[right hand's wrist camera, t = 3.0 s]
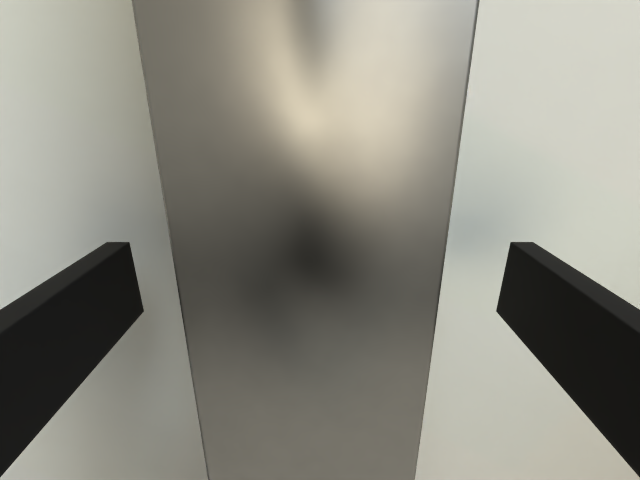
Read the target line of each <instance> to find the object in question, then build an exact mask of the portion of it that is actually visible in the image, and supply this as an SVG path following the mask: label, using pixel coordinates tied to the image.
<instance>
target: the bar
mask: <svg viewBox="0 0 640 480" xmlns="http://www.w3.org/2000/svg"><path fill="white" fill-rule="evenodd" d="M132 5H133V11H134V17H135V23H136V30H137V36H138V42H139V49H140V55H141V61H142V67H143V74H144V80H145V86H146V92H147V99H148V105H149V111H150V117H151V124H152V130H153V136H154V142H155V149H156V155H157V161H158V167H159V174H160V180H161V186H162V192H163V199H164V205H165V211H166V218H167V224H168V230H169V236H170V243H171V249H172V255H173V261H174V268H175V274H176V280H177V286H178V293H179V299H180V305H181V311H182V318H183V324H184V330H185V336H186V343H187V349H188V355H189V362H190V368H191V374H192V380H193V387H194V393H195V399H196V405H197V412H198V418H199V424H200V430H201V437H202V443H203V449H204V455H205V462H206V468H207V474H208V480H415V473H416V466H417V458H418V451H419V444H420V436H421V429H422V421H423V414H424V407H425V399H426V392H427V384H428V377H429V370H430V362H431V355H432V347H433V340H434V333H435V325H436V318H437V310H438V303H439V296H440V288H441V281H442V274H443V266H444V259H445V251H446V244H447V237H448V229H449V222H450V214H451V207H452V200H453V192H454V185H455V177H456V170H457V163H458V155H459V148H460V140H461V133H462V126H463V118H464V111H465V103H466V96H467V89H468V81H469V74H470V66H471V59H472V52H473V44H474V37H475V29H476V22H477V15H478V7H479V0H132Z"/></svg>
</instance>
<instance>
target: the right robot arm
mask: <svg viewBox="0 0 640 480" xmlns="http://www.w3.org/2000/svg"><path fill="white" fill-rule="evenodd" d="M143 312H144V310H143V305H142V300H141V296H140V291H139V286H138V281H137V277H136V272H135V267H134V262H133V257H132V253H131V248H130V243H129V242H107V243H105V244H103V245H102V246H100V247H99V248H97V249H96V250H94V251H92V252H91V253H89V254H88V255H86V256H84V257H83V258H81V259H80V260H78V261H77V262H75V263H73V264H72V265H70V266H69V267H67V268H66V269H64V270H62V271H61V272H59V273H58V274H56V275H55V276H53V277H51V278H50V279H48V280H47V281H45V282H43V283H42V284H40V285H39V286H37V287H36V288H34V289H32V290H31V291H29V292H28V293H26V294H25V295H23V296H21V297H20V298H18V299H17V300H15V301H13V302H12V303H10V304H9V305H7V306H6V307H4V308H2V309H1V310H0V477H1V476H2V475H3V474H4V472H5V471H6V470H7V469H8V468H9V467H10V465H11V464H12V463H13V462H14V461H15V460H16V458H17V457H18V456H19V455H20V454H21V453H22V452H23V450H24V449H25V448H26V447H27V446H28V445H29V443H30V442H31V441H32V440H33V439H34V438H35V436H36V435H37V434H38V433H39V432H40V431H41V430H42V428H43V427H44V426H45V425H46V424H47V423H48V421H49V420H50V419H51V418H52V417H53V416H54V414H55V413H56V412H57V411H58V410H59V409H60V408H61V406H62V405H63V404H64V403H65V402H66V401H67V399H68V398H69V397H70V396H71V395H72V394H73V393H74V391H75V390H76V389H77V388H78V387H79V386H80V384H81V383H82V382H83V381H84V380H85V379H86V377H87V376H88V375H89V374H90V373H91V372H92V371H93V369H94V368H95V367H96V366H97V365H98V364H99V362H100V361H101V360H102V359H103V358H104V357H105V355H106V354H107V353H108V352H109V351H110V350H111V349H112V347H113V346H114V345H115V344H116V343H117V342H118V340H119V339H120V338H121V337H122V336H123V335H124V333H125V332H126V331H127V330H128V329H129V328H130V327H131V325H132V324H133V323H134V322H135V321H136V320H137V318H138V317H139V316H140V315H141V314H142V313H143ZM496 312H497V313H498V314H499V315H500V316H501V317H502V318H503V320H504V321H505V322H506V323H507V324H508V325H509V327H510V328H511V329H512V330H513V331H514V332H515V333H516V335H517V336H518V337H519V338H520V339H521V340H522V342H523V343H524V344H525V345H526V346H527V347H528V349H529V350H530V351H531V352H532V353H533V354H534V355H535V357H536V358H537V359H538V360H539V361H540V362H541V364H542V365H543V366H544V367H545V368H546V369H547V371H548V372H549V373H550V374H551V375H552V376H553V377H554V379H555V380H556V381H557V382H558V383H559V384H560V386H561V387H562V388H563V389H564V390H565V391H566V393H567V394H568V395H569V396H570V397H571V398H572V399H573V401H574V402H575V403H576V404H577V405H578V406H579V408H580V409H581V410H582V411H583V412H584V413H585V415H586V416H587V417H588V418H589V419H590V420H591V421H592V423H593V424H594V425H595V426H596V427H597V428H598V430H599V431H600V432H601V433H602V434H603V435H604V436H605V438H606V439H607V440H608V441H609V442H610V443H611V445H612V446H613V447H614V448H615V449H616V450H617V452H618V453H619V454H620V455H621V456H622V457H623V458H624V460H625V461H626V462H627V463H628V464H629V465H630V467H631V468H632V469H633V470H634V471H635V472H636V474H637V475H638V476H639V477H640V310H639V309H638V308H636V307H634V306H633V305H631V304H630V303H628V302H627V301H625V300H623V299H622V298H620V297H619V296H617V295H615V294H614V293H612V292H611V291H609V290H608V289H606V288H604V287H603V286H601V285H600V284H598V283H597V282H595V281H593V280H592V279H590V278H589V277H587V276H585V275H584V274H582V273H581V272H579V271H578V270H576V269H574V268H573V267H571V266H570V265H568V264H567V263H565V262H563V261H562V260H560V259H559V258H557V257H556V256H554V255H552V254H551V253H549V252H548V251H546V250H544V249H543V248H541V247H540V246H538V245H537V244H535V243H533V242H511V243H510V248H509V253H508V257H507V262H506V267H505V272H504V277H503V281H502V286H501V291H500V296H499V300H498V305H497V310H496Z"/></svg>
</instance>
